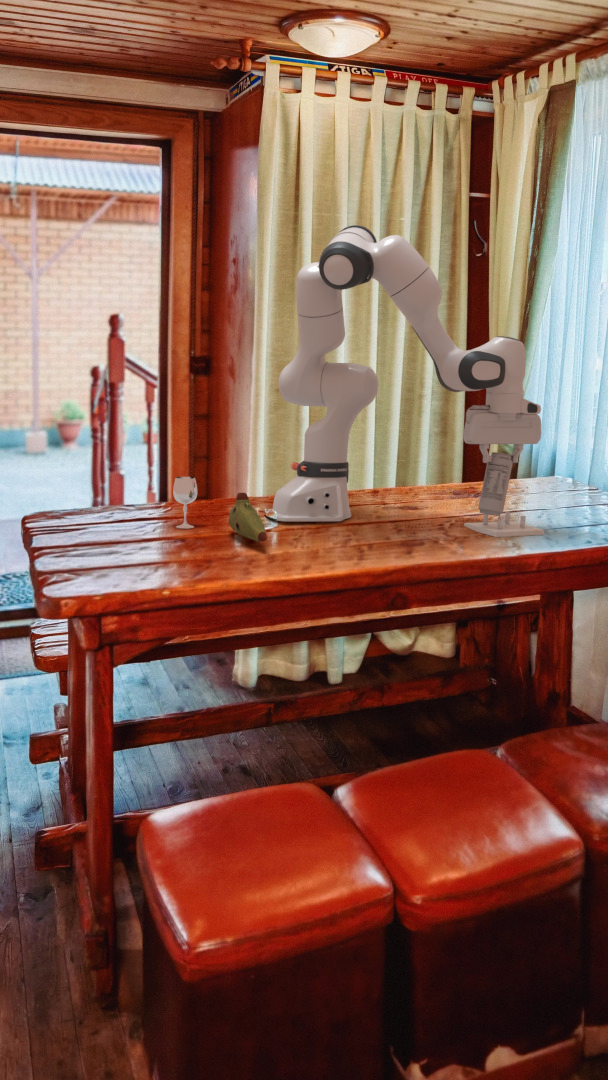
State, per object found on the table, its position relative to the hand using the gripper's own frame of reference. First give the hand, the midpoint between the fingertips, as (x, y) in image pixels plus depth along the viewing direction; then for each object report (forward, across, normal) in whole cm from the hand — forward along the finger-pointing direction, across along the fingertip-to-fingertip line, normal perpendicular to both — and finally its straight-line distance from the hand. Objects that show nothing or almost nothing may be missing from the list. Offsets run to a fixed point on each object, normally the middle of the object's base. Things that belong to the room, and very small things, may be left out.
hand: (500, 462), depth 220 cm
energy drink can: (+13, -3, -1) cm, 13 cm away
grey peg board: (+17, +2, 0) cm, 17 cm away
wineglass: (+17, -73, +24) cm, 78 cm away
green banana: (+18, -62, +6) cm, 65 cm away
